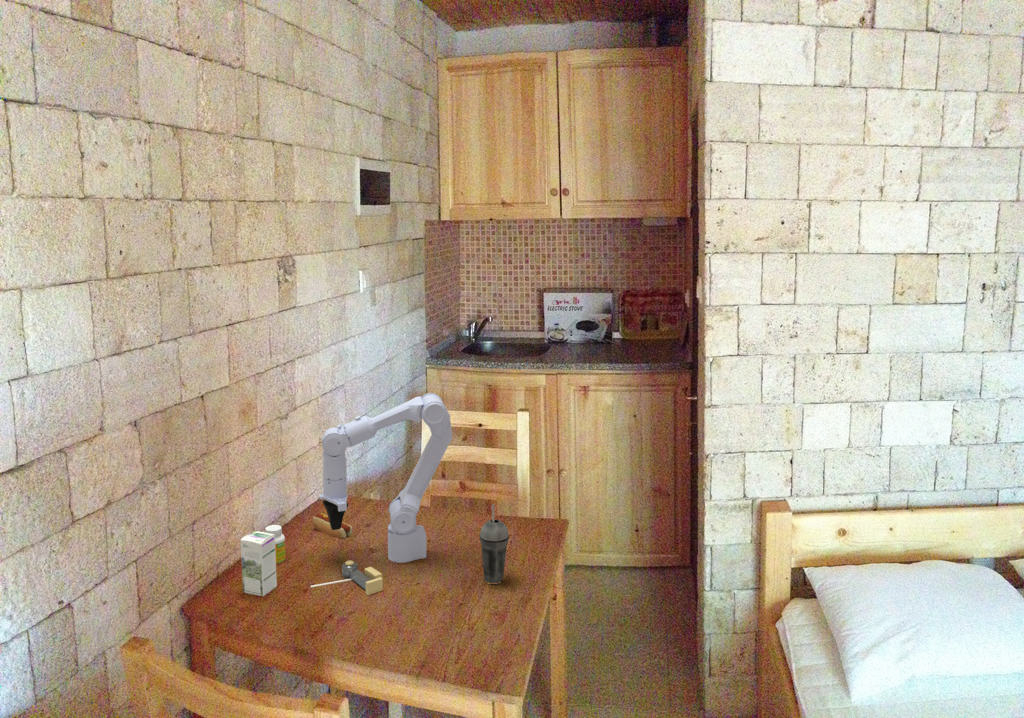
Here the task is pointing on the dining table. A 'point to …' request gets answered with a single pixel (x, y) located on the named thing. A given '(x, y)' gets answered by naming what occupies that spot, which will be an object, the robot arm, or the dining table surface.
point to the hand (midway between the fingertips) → (335, 528)
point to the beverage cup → (494, 549)
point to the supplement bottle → (278, 542)
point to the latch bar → (354, 574)
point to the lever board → (372, 585)
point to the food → (324, 526)
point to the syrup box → (258, 563)
